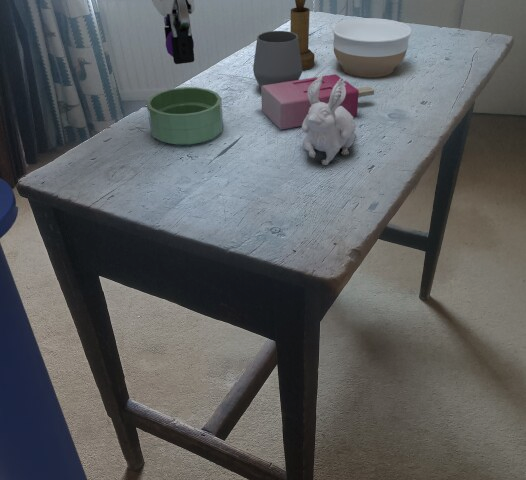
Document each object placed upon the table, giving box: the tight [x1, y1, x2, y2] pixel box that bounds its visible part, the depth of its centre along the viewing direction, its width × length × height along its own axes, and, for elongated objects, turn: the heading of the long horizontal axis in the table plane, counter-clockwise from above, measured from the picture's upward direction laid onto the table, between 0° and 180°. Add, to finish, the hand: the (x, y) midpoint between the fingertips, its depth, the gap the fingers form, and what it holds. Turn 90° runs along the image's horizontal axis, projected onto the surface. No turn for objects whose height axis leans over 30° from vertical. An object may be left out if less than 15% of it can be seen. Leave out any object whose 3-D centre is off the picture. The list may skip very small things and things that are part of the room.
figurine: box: [301, 74, 357, 166], centre depth 91 cm, size 8×15×13 cm, turn 157°
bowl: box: [331, 17, 413, 78], centre depth 122 cm, size 16×16×8 cm
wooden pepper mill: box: [289, 0, 315, 71], centre depth 121 cm, size 7×6×18 cm
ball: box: [165, 31, 195, 58], centre depth 92 cm, size 4×4×4 cm
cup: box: [252, 30, 303, 89], centre depth 112 cm, size 10×9×10 cm
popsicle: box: [260, 73, 375, 131], centre depth 105 cm, size 9×5×20 cm
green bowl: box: [146, 86, 224, 146], centre depth 99 cm, size 12×12×6 cm
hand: (180, 56), depth 93 cm, fingers closed on ball, 4 cm apart
